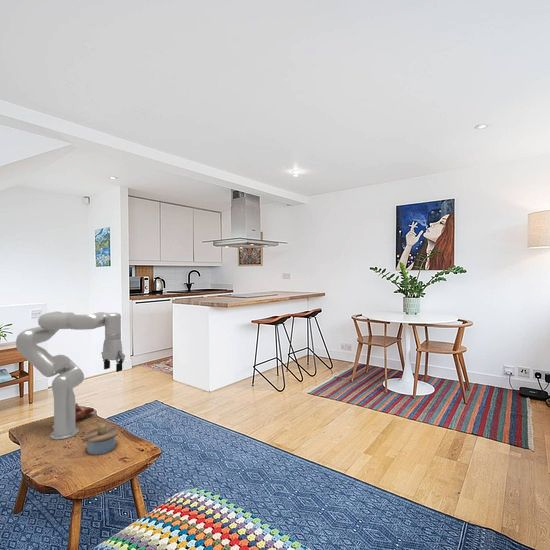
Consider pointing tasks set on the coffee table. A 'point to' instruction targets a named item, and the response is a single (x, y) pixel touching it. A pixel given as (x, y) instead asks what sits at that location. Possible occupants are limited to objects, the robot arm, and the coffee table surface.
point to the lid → (101, 433)
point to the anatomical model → (81, 411)
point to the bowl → (101, 446)
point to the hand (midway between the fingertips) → (113, 370)
